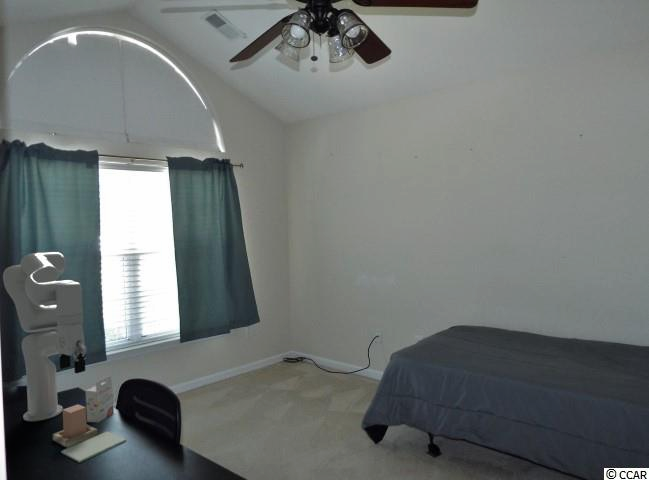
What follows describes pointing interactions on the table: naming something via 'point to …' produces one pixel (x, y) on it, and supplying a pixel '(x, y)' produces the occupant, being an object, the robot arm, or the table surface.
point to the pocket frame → (75, 440)
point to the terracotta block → (74, 421)
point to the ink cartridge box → (99, 400)
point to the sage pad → (93, 446)
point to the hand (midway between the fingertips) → (72, 369)
